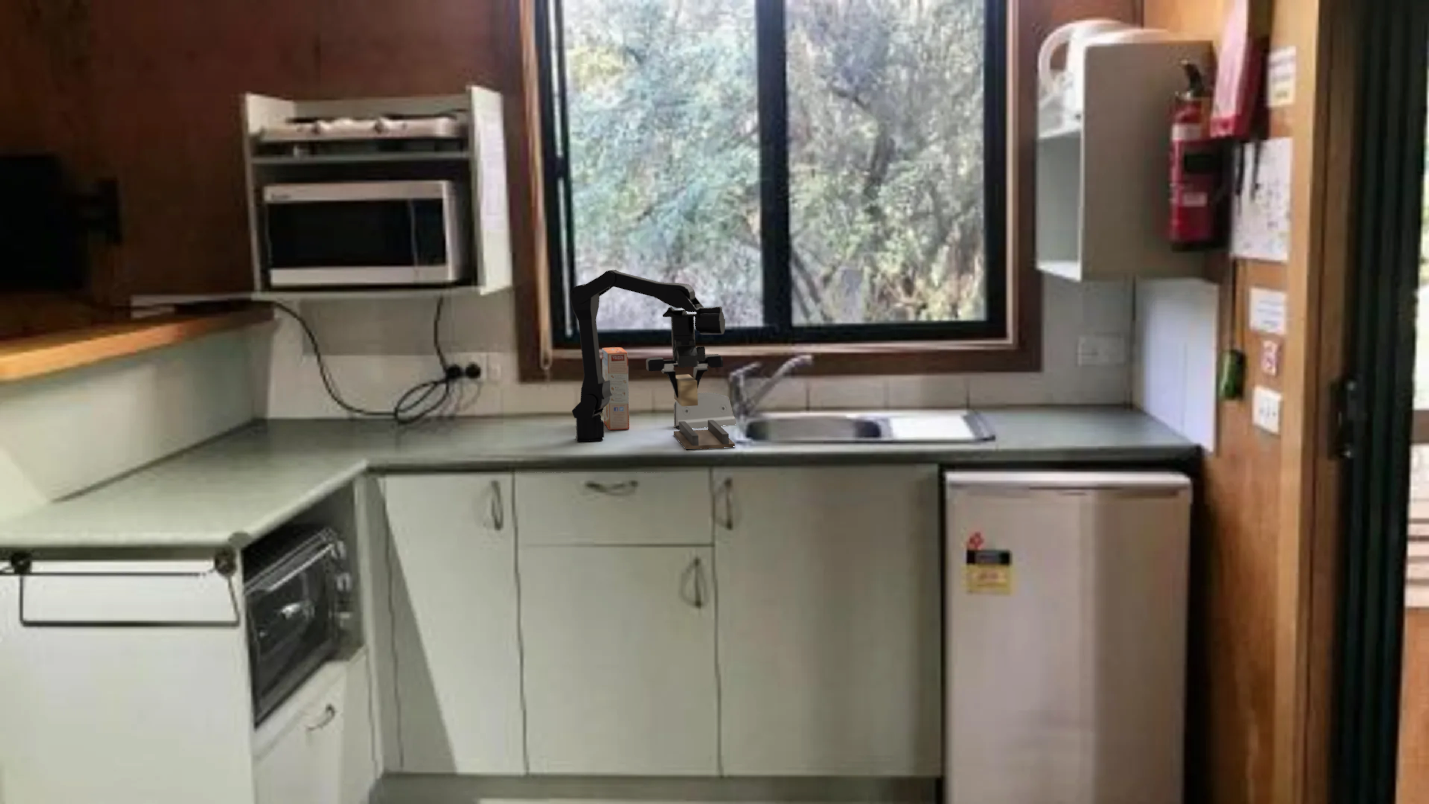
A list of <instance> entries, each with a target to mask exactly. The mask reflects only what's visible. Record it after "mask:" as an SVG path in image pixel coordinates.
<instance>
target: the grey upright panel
mask: <svg viewBox="0 0 1429 804" xmlns="http://www.w3.org/2000/svg"><path fill="white" fill-rule="evenodd" d="M697 393H698V405H696V406H681V405H680V404H679V403H678V402H677V401H676V400H675V401H674V403H673V427H674V428H679V421H685V422H686V423H687V424H688V425H689V426H690V427H691V428H697V429H705V428H704V427H708V420H714V421H715V422H716V423H717V424H719V425H720V426H722V427H724V426H723V425H734V426H736V425H737V420H736V417H735V416H734V412H733V409H732V405H731V401H730V398H729V396H728V395H725V394H721V393H715V392H697ZM735 424H736V425H735Z"/></svg>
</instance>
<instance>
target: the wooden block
mask: <svg viewBox="0 0 1429 804" xmlns="http://www.w3.org/2000/svg"><path fill="white" fill-rule="evenodd" d="M676 381H677V387H678V398H677V397H676V395H675V392H674V391H673V398H674V400H675V401H677V402H678V403H679V404H680V405H681V406H696V405H698V393H699V392H698V389H697V381H696V380H695V379H694V378H693V377H692V375H690V374H688V373H687V374H676Z"/></svg>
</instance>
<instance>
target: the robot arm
mask: <svg viewBox="0 0 1429 804" xmlns="http://www.w3.org/2000/svg"><path fill="white" fill-rule="evenodd" d="M612 288H616V289H617V288H618V289H621V290H625V291H629V292H633V293H637V294H641V295H646V296H649V297H652V298H655V299H657V300H659V301H661V302H662V303H664V304H666V305H668V306H670V307H667V309H666V311H665V312H664V313H663V314H662V317H663V318H670V322H671V323H670V327H671V349H672V351H671V352H672V359H664V358H663V357H662V356H660V357H659V356H658V357H647V358H646V360H645V367H646V368H645V369H646V370H647V371H648V372H659V371H660V372H661V373H662V374H665V375H666V376H667V378H668V380H669V381H670V384H671V386H672V390H673V393H674V392H675V395H676V397H677V398H678V387H677V381H676V375H677V374H676V373H677V372H676V370H674V369H675V368H677V367H679V368H682V369H683V368H687V367H688V368H689V367H692V368H693V375H692V376H693V378H694V379H695V380H696V381H697V390H698V389H699V384H700V382H701V379H702V377H703V375H704V374H705V373H706V372H708V371H709V368H708V366H709V367H710V368H711V369H713V368H714V369H715V368H723V367H724V360H723V359H724V358H723V357H722V356H721V355H719V353H711V354H706V348H705V346H704V345H700V346H696V335H695V330H696V331H697V332H699V334H700V335H724V334H725V330H726V318H725V315H724V312H723V307H722V306H720V305H719V306H714V307H712V306H711V307H704V305H703V304H702V303H701V302H700V301H699V299H698V298H697V296H696V291H695V290H694V287H693V286H692V285H691V284H688V283H680V282H661V281H657V280H652V279H648V278H644V277H641V276H636V275H634V274H629V273H625V272H621V271H619V270H616V269H611V270H606V271H604V272H603V273H602V274H601V275H599V276H597V277H596V278H594V279H591V280H590V281H589V282H587V283H583V284H579V285H575V286H574V287H573V288H572V290H571V291H570V293H569V300H570V304H571V307H572V311H573V314H574V315H575V318H576V319H577V322H578V328H579V331H578V332H579V340H580V349H581V359H582V369H583V371H582V372H583V379H582V384H581V388H580V402H579V403H577V404H576V406H575V407H574V408H573V409H572V410H571V413H572V415H573V418H574V419H575V433H576V435H575V439H576V442H577V443H581V442H601V441H603V440H604V439H603V438H605V428H604V427H605V423H604V419H602V415H601V414H603V409H604V407H605V406H606V405H607V404H608V403H609V401H610V396H612V393H611V391H610V380H608V381H605V380H604V378H603V372H602V363H601V354H600V346H599V345H600V344H599V335H598V327H597V326H598V325H597V317H598V316H597V315H598V312H599V307H600V297H601V296H602V295H604V294H605V293H607V292H608V291H609V290H611V289H612ZM674 308H675V309H674Z"/></svg>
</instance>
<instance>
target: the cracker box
mask: <svg viewBox="0 0 1429 804" xmlns="http://www.w3.org/2000/svg"><path fill="white" fill-rule="evenodd" d="M601 358H602V359H601V372H602V376H603V378H604V380H605V381H608V380H610V391H611V393H612V396H610V401H609V403H608V404H607V405H606V406H605V407H604V409H603V412H602V414H603V415H602V416H603V422H604V426H606V427H607V429H608V430H609V431H620V430H622V431H623V430H629V429H630V398H629V397H630V390H629V352H628V351H626V350H625V349H624V348H623V347H618V346H617V347H615V346H612V347H602V348H601Z"/></svg>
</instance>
